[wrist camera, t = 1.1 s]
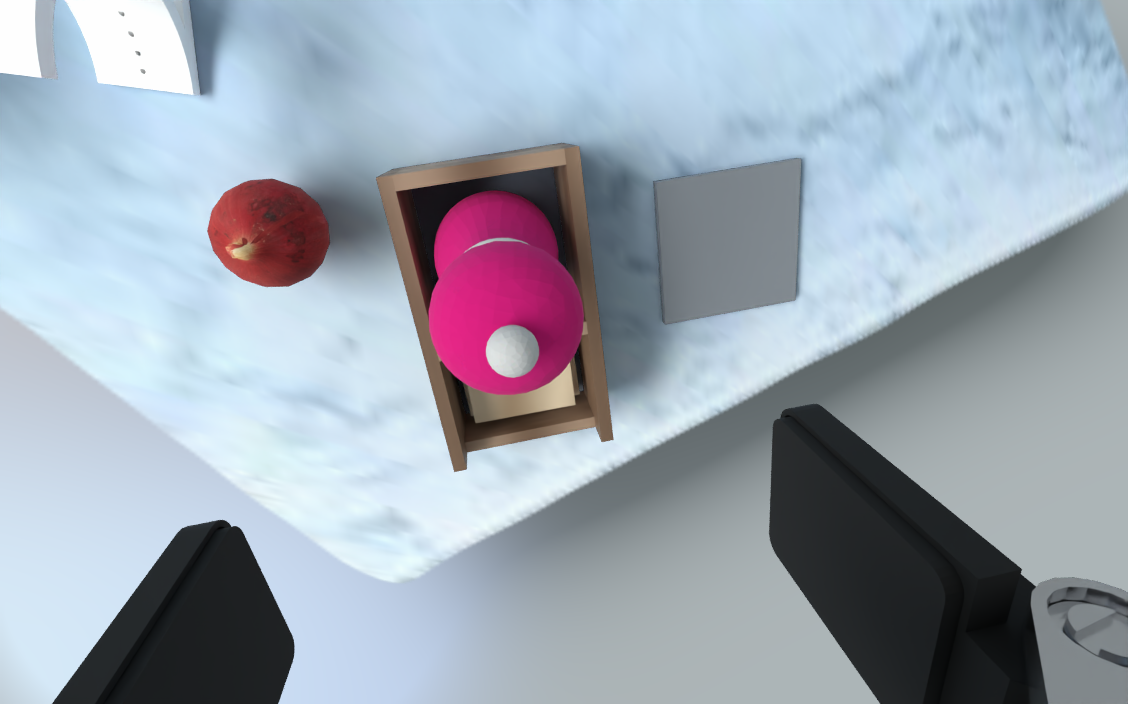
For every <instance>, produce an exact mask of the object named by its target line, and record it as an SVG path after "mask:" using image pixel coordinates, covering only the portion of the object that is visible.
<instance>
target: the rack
mask: <svg viewBox="0 0 1128 704" xmlns="http://www.w3.org/2000/svg"><path fill="white" fill-rule="evenodd" d="M547 167H553V171H554V178H555V186H556V193H557V200H558V207H559V215H560V222H561V229H562V236H563V244H564V251H565V258H566V266H567V271H568V272H569V274H570V275H571V276H572V278H573V280H574V282H575V284H576V286H577V288H578V290H579V294H580V297H581V300H582V304H583V312H584V321H583V332H582V337H581V341H580V343H579V346H578V353H579V360H580V367H581V375H582V382H583V389H584V391H580V394H579V395H574V397H575V405H572V406H566V407H561V408H556V409H550V410H545V411H540V412H534V413H529V414H524V415H518V416H513V417H508V418H502V419H497V420H492V421H486V422H481V423H475V419H474V415H473V416H471V414H470V413H467V414H466V413H465V409H464V404H463V400H462V396H461V392H460V388H459V384H458V380H457V377H455V376H454V375H453V374H452V373H451V372H450V371H449V369H448V368H447V367H446V366H445V365H444V363H443V362H442V360H441V359H440V357H439V356H438V354H437V352H436V349H435V347H434V345H433V342H432V338H431V335H430V331H429V307H430V302H431V297H432V292H433V290H434V288H435V285H434V281H433V277H432V273H431V269H430V265H429V261H428V256H427V252H426V248H425V244H424V240H423V236H422V232H421V228H420V224H419V220H418V215H417V211H416V207H415V203H414V199H413V195H412V191H411V189H414V188H420V187H427V186H433V185H440V184H446V183H452V182H459V181H465V180H471V179H478V178H484V177H490V176H497V175H503V174H509V173H516V172H522V171H528V170H535V169H541V168H547ZM376 180H377V184H378V187H379V191H380V195H381V199H382V202H383V206H384V210H385V214H386V217H387V221H388V225H389V229H390V232H391V236H392V240H393V244H394V247H395V251H396V255H397V259H398V262H399V266H400V270H401V274H402V277H403V281H404V285H405V289H406V292H407V296H408V300H409V304H410V307H411V311H412V315H413V319H414V322H415V326H416V330H417V334H418V337H419V341H420V345H421V349H422V352H423V356H424V360H425V364H426V367H427V371H428V375H429V379H430V382H431V386H432V390H433V394H434V397H435V401H436V405H437V409H438V412H439V416H440V420H441V424H442V427H443V431H444V435H445V439H446V442H447V446H448V450H449V453H450V457H451V461H452V465H453V468H454V472H457V471H462V470H466V469H467V452H472V451H477V450H482V449H487V448H492V447H497V446H502V445H507V444H512V443H517V442H522V441H527V440H532V439H537V438H542V437H547V436H552V435H557V434H562V433H567V432H572V431H577V430H582V429H587V428H592V427H596V429H597V432H598V434H599V437H600V439H601V442H605V441H610V440H613V432H612V423H611V415H610V406H609V398H608V389H607V381H606V372H605V363H604V355H603V346H602V338H601V329H600V321H599V312H598V304H597V295H596V286H595V278H594V269H593V261H592V252H591V244H590V235H589V227H588V218H587V209H586V201H585V192H584V184H583V175H582V167H581V158H580V150H579V146H575V145H570V144H565V143H559V144H552V145H546V146H540V147H533V148H527V149H520V150H514V151H507V152H501V153H494V154H488V155H481V156H475V157H468V158H462V159H455V160H449V161H442V162H436V163H429V164H423V165H416V166H410V167H403V168H397V169H392V170H390V171H388V172H386V173H384V174H382V175H380V176H378V177H376Z"/></svg>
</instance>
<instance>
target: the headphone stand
mask: <svg viewBox="0 0 1128 704" xmlns="http://www.w3.org/2000/svg"><path fill="white" fill-rule="evenodd" d="M65 1H66V2H67V4H68V6H69V7H70V9H71V11H72V13H73V15H74V16H75V18H76V20H77V22H78V24H79V26H80V28H81V31H82V33H83V35H84V38H85V40H86V43H87V45H88V48H89V51H90V54H91V57H92V60H93V64H94V67H95V71H96V76H97V81H98V83H105V84H113V85H121V86H129V87H137V88H145V89H152V90H160V91H168V92H176V93H184V94H192V95H200V87H199V79H198V71H197V62H196V54H195V46H194V37H193V29H192V21H191V12H190V4H189V0H65ZM55 2H56V0H0V73H8V74H16V75H24V76H32V77H40V78H49V79H58V76H57V70H56V64H55V56H54V45H53V19H54V8H55Z"/></svg>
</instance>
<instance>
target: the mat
mask: <svg viewBox="0 0 1128 704" xmlns="http://www.w3.org/2000/svg"><path fill="white" fill-rule="evenodd" d="M800 177H801V159H800V158H794V159H788V160H782V161H776V162H770V163H763V164H757V165H751V166H745V167H739V168H733V169H727V170H720V171H714V172H708V173H702V174H696V175H690V176H683V177H677V178H671V179H665V180H659V181H654V196H655V211H656V226H657V242H658V257H659V272H660V287H661V302H662V317H663V323H664V324H671V323H676V322H682V321H687V320H692V319H698V318H703V317H709V316H714V315H719V314H725V313H730V312H735V311H741V310H746V309H752V308H757V307H762V306H768V305H773V304H779V303H784V302H789V301H795V299H796V275H797V250H798V226H799V201H800Z"/></svg>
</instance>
